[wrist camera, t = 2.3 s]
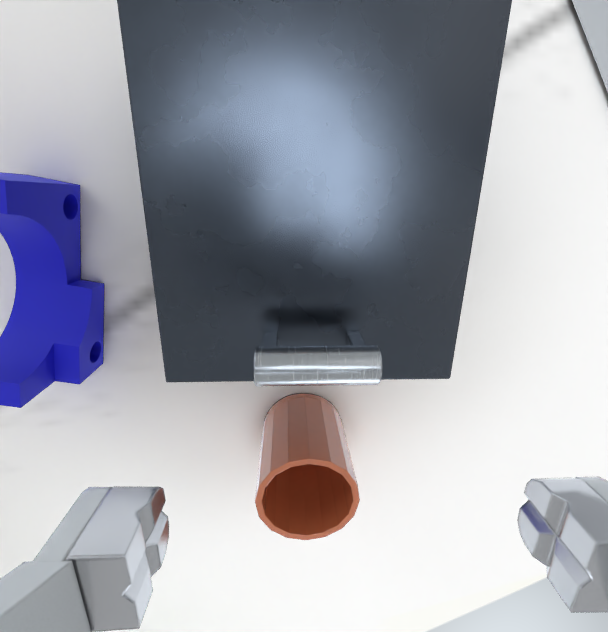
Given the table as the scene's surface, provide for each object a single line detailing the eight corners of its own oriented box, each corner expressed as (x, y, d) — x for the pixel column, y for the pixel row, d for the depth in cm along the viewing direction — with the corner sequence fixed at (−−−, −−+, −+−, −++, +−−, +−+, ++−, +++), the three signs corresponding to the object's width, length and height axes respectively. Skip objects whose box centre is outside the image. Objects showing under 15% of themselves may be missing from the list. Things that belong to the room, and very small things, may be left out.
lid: (444, 372, 19) (491, 423, 15) (170, 375, 18) (134, 430, 14) (502, -2, 14) (603, -95, 9) (122, -18, 13) (39, -128, 9)
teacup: (248, 436, 28) (236, 513, 21) (293, 378, 26) (295, 442, 20) (311, 470, 29) (318, 553, 22) (356, 417, 28) (379, 489, 21)
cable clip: (103, 363, 25) (49, 411, 19) (37, 353, 25) (-38, 400, 19) (105, 189, 21) (40, 186, 16) (28, 174, 21) (-68, 166, 15)
